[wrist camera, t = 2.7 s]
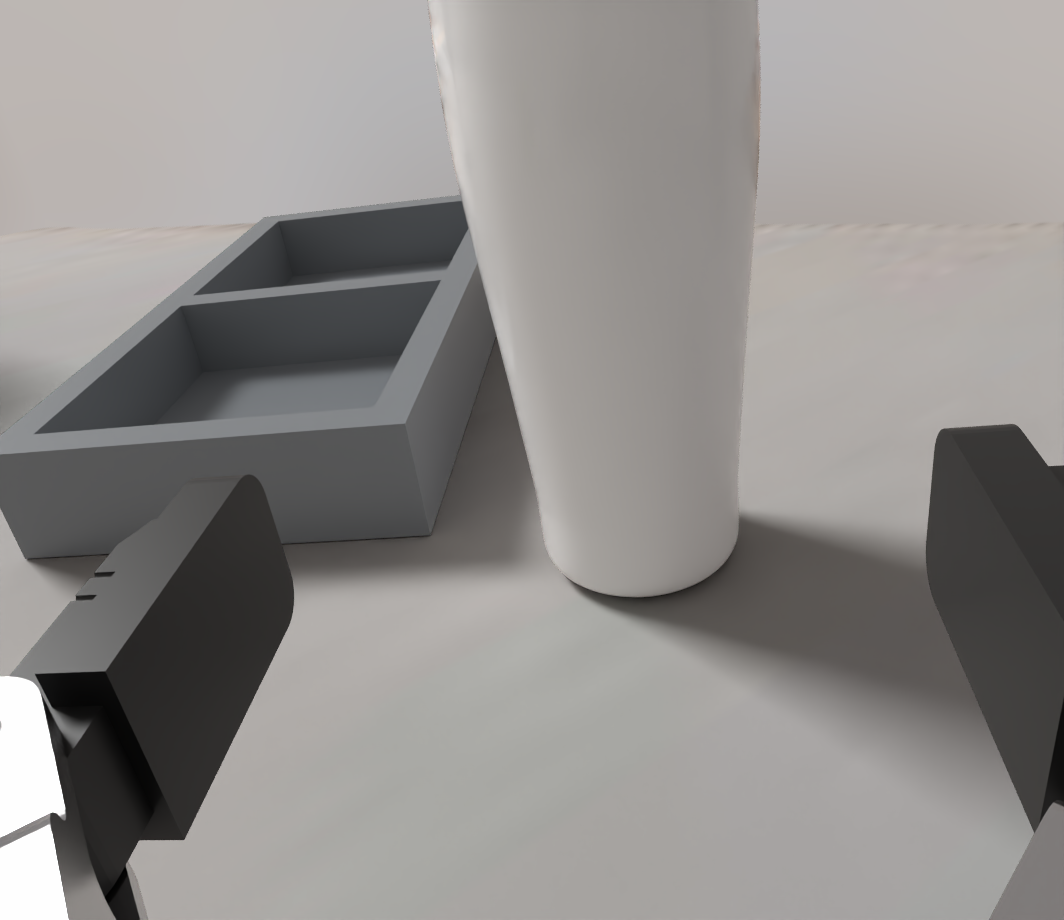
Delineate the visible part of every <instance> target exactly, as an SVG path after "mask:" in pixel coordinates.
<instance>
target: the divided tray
mask: <svg viewBox="0 0 1064 920" xmlns="http://www.w3.org/2000/svg"><path fill="white" fill-rule="evenodd" d="M495 338H496V332H495V328H494V325H493V321H492V317H491V313H490V309H489V305H488V301H487V298H486V294H485V290H484V286H483V282H482V278H481V275H480V271H479V267H478V263H477V259H476V255H475V252H474V248H473V244H472V240H471V236H470V232H469V228H468V224H467V220H466V216H465V212H464V208H463V204H462V200H461V196H460V195H457V196H449V197H440V198H430V199H422V200H413V201H404V202H396V203H386V204H377V205H369V206H360V207H351V208H342V209H333V210H324V211H316V212H308V213H298V214H289V215H280V216H271V217H264V218H263V219H262V220H261V221H259V222H258V223H257V224H256V225H254V226H253V227H252V228H251V229H250V230H248V231H247V232H246V233H245V234H244V235H242V236H241V237H240V238H239V239H237V240H236V241H235V242H234V243H233V244H231V245H230V246H229V247H228V248H227V249H225V250H224V251H223V252H222V253H221V254H219V255H218V256H217V257H216V258H214V259H213V260H212V261H211V262H210V263H208V264H207V265H206V266H205V267H204V268H202V269H201V270H200V271H199V272H198V273H196V274H195V275H194V276H193V277H191V278H190V279H189V280H188V281H187V282H185V283H184V284H183V285H182V286H181V287H179V288H178V289H177V290H176V291H175V292H173V293H172V294H171V295H170V296H168V297H167V298H166V299H165V300H164V301H162V302H161V303H160V304H159V305H158V306H156V307H155V308H154V309H153V310H152V311H150V312H149V313H148V314H147V315H145V316H144V317H143V318H142V319H141V320H139V321H138V322H137V323H136V324H135V325H133V326H132V327H131V328H130V329H129V330H127V331H126V332H125V333H124V334H122V335H121V336H120V337H119V338H118V339H116V340H115V341H114V342H113V343H112V344H110V345H109V346H108V347H107V348H106V349H104V350H103V351H102V352H101V353H99V354H98V355H97V356H96V357H95V358H93V359H92V360H91V361H90V362H89V363H87V364H86V365H85V366H84V367H83V368H81V369H80V370H79V371H78V372H76V373H75V374H74V375H73V376H72V377H70V378H69V379H68V380H67V381H66V382H64V383H63V384H62V385H61V386H60V387H58V388H57V389H56V390H55V391H54V392H52V393H51V394H50V395H49V396H47V397H46V398H45V399H44V400H43V401H41V402H40V403H39V404H38V405H37V406H35V407H34V408H33V409H32V410H31V411H29V412H28V413H27V414H26V415H24V416H23V417H22V418H21V419H20V420H18V421H17V422H16V423H15V424H14V425H12V426H11V427H10V428H9V429H8V430H6V431H5V432H4V433H3V434H1V435H0V508H1V510H2V512H3V515H4V517H5V519H6V521H7V523H8V525H9V527H10V529H11V531H12V533H13V535H14V537H15V539H16V541H17V543H18V545H19V547H20V549H21V551H22V553H23V555H24V557H25V559H28V558H46V557H63V556H80V555H97V554H110V553H111V552H112V551H113V549H114V548H115V547H116V546H117V545H118V544H119V543H121V542H122V541H123V540H125V539H126V538H128V537H129V536H130V535H132V534H133V533H135V532H136V531H137V530H139V529H140V528H142V527H143V526H145V525H146V524H147V523H149V522H150V521H152V520H155V519H158V517H159V516H160V515H161V514H162V512H163V511H164V510H165V509H166V507H167V506H168V505H169V503H170V502H171V501H172V500H173V498H174V497H175V496H176V495H177V493H178V492H179V491H180V490H181V488H182V487H183V486H184V485H185V483H186V482H187V481H189V480H190V479H193V478H202V477H217V476H232V475H247V474H249V475H253V476H255V477H256V478H257V479H258V480H259V481H260V483H261V485H262V486H263V488H264V491H265V494H266V497H267V500H268V503H269V506H270V509H271V513H272V516H273V519H274V522H275V525H276V528H277V531H278V535H279V538H280V541H281V544H287V543H305V542H322V541H339V540H357V539H374V538H391V537H408V536H426V535H431V532H432V529H433V526H434V523H435V520H436V517H437V514H438V511H439V508H440V505H441V502H442V499H443V496H444V493H445V490H446V486H447V483H448V480H449V477H450V474H451V471H452V468H453V465H454V462H455V459H456V456H457V453H458V450H459V447H460V444H461V441H462V438H463V435H464V432H465V429H466V426H467V423H468V420H469V417H470V414H471V411H472V408H473V405H474V402H475V399H476V396H477V393H478V389H479V386H480V383H481V380H482V377H483V374H484V371H485V368H486V365H487V362H488V359H489V356H490V353H491V350H492V347H493V344H494V341H495Z"/></svg>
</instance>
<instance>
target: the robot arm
mask: <svg viewBox="0 0 1064 920" xmlns="http://www.w3.org/2000/svg"><path fill="white" fill-rule="evenodd" d="M926 564H927V573H928V580H929V585H930V589H931V593H932V596H933V599H934V602H935V604H936V606H937V609H938V611H939V613H940V616H941V618H942V620H943V623H944V625H945V627H946V630H947V632H948V634H949V636H950V639H951V641H952V643H953V646H954V648H955V650H956V653H957V655H958V657H959V660H960V662H961V664H962V667H963V669H964V671H965V673H966V676H967V678H968V680H969V683H970V685H971V687H972V690H973V692H974V694H975V697H976V699H977V701H978V704H979V706H980V708H981V710H982V713H983V715H984V717H985V720H986V722H987V724H988V727H989V729H990V731H991V734H992V736H993V738H994V741H995V743H996V745H997V747H998V750H999V752H1000V754H1001V757H1002V759H1003V761H1004V764H1005V766H1006V768H1007V771H1008V773H1009V775H1010V778H1011V780H1012V782H1013V784H1014V787H1015V789H1016V791H1017V794H1018V796H1019V798H1020V801H1021V803H1022V805H1023V808H1024V810H1025V812H1026V815H1027V817H1028V819H1029V821H1030V824H1031V826H1032V828H1033V831H1034V835H1033V837H1032V839H1031V841H1030V843H1029V845H1028V847H1027V849H1026V850H1025V852H1024V854H1023V856H1022V858H1021V860H1020V862H1019V864H1018V866H1017V868H1016V869H1015V871H1014V873H1013V875H1012V877H1011V879H1010V881H1009V883H1008V885H1007V886H1006V888H1005V890H1004V892H1003V894H1002V896H1001V898H1000V900H999V902H998V904H997V905H996V907H995V909H994V911H993V913H992V915H991V917H990V919H989V920H1064V466H1048V465H1047V464H1046V463H1045V461H1044V460H1043V459H1042V457H1041V456H1040V455H1039V453H1038V452H1037V451H1036V449H1035V448H1034V447H1033V445H1032V444H1031V443H1030V441H1029V440H1028V439H1027V437H1026V436H1025V434H1024V433H1023V432H1022V430H1021V429H1020V428H1019V427H1018V426H1016V425H1015V424H1006V425H991V426H976V427H961V428H947V429H942V430H941V431H940V432H939V434H938V436H937V439H936V444H935V450H934V461H933V472H932V483H931V495H930V506H929V517H928V529H927V540H926ZM293 606H294V588H293V581H292V576H291V572H290V569H289V566H288V563H287V560H286V557H285V553H284V550H283V547H282V544H281V541H280V538H279V535H278V531H277V528H276V525H275V522H274V519H273V516H272V513H271V509H270V506H269V503H268V500H267V497H266V494H265V491H264V488H263V486H262V485H261V483H260V481H259V480H258V479H257V478H256V477H255V476H253V475H249V474H247V475H232V476H217V477H202V478H193V479H190V480H189V481H187V482H186V483H185V485H184V486H183V487H182V488H181V490H180V491H179V492H178V493H177V495H176V496H175V497H174V498H173V500H172V501H171V502H170V503H169V505H168V506H167V507H166V509H165V510H164V511H163V512H162V514H161V515H160V516H159V517H158V519H155V520H152V521H150V522H149V523H147V524H146V525H145V526H143V527H142V528H140V529H139V530H137V531H136V532H135V533H133V534H132V535H130V536H129V537H128V538H126V539H125V540H123V541H122V542H121V543H119V544H118V545H117V546H116V547H115V548H114V549H113V551H112V552H111V553H110V554H109V556H108V557H107V558H106V559H105V560H104V562H103V563H102V564H101V565H100V566H99V568H98V569H97V570H96V571H95V578H90V579H89V580H88V581H87V582H86V583H85V585H84V586H83V587H82V588H81V590H80V591H79V592H78V593H77V594H76V601H72V602H70V603H69V604H68V605H67V607H66V608H65V609H64V610H63V611H62V613H61V614H60V615H59V616H58V617H57V619H56V620H55V621H54V622H53V623H52V625H51V626H50V627H49V628H48V630H47V631H46V632H45V633H44V634H43V636H42V637H41V638H40V639H39V640H38V642H37V643H36V644H35V645H34V647H33V648H32V649H31V650H30V651H29V653H28V654H27V655H26V656H25V657H24V659H23V660H22V661H21V662H20V664H19V665H18V666H17V667H16V668H15V670H14V671H13V672H12V673H11V674H10V676H9V677H0V920H148V917H147V913H146V909H145V906H144V902H143V899H142V895H141V891H140V888H139V884H138V881H137V878H136V876H135V873H134V871H133V869H132V868H131V866H130V864H129V862H128V860H129V858H130V856H131V854H132V852H133V850H134V849H135V847H136V845H137V843H138V841H139V840H184V839H185V837H186V835H187V833H188V831H189V829H190V827H191V825H192V823H193V821H194V819H195V817H196V815H197V813H198V811H199V809H200V807H201V805H202V802H203V800H204V798H205V796H206V794H207V792H208V790H209V788H210V786H211V784H212V782H213V780H214V778H215V776H216V774H217V772H218V770H219V768H220V766H221V764H222V762H223V760H224V758H225V755H226V753H227V751H228V749H229V747H230V745H231V743H232V741H233V739H234V737H235V735H236V733H237V731H238V729H239V727H240V725H241V723H242V721H243V719H244V717H245V715H246V713H247V711H248V708H249V706H250V704H251V702H252V700H253V698H254V696H255V694H256V692H257V690H258V688H259V686H260V684H261V682H262V680H263V678H264V676H265V674H266V672H267V670H268V668H269V666H270V663H271V661H272V659H273V657H274V655H275V653H276V651H277V649H278V647H279V645H280V643H281V641H282V639H283V637H284V635H285V633H286V631H287V629H288V627H289V624H290V621H291V618H292V613H293Z"/></svg>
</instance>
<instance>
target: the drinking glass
mask: <svg viewBox="0 0 1064 920" xmlns="http://www.w3.org/2000/svg"><path fill="white" fill-rule="evenodd" d="M427 1H428V10H429V18H430V26H431V34H432V42H433V49H434V56H435V64H436V71H437V77H438V83H439V90H440V96H441V102H442V108H443V114H444V120H445V125H446V130H447V136H448V141H449V146H450V151H451V156H452V161H453V165H454V170H455V174H456V179H457V183H458V187H459V192H460V196H461V200H462V204H463V208H464V212H465V216H466V220H467V224H468V228H469V232H470V236H471V240H472V244H473V248H474V252H475V255H476V259H477V263H478V267H479V271H480V275H481V278H482V282H483V286H484V290H485V294H486V298H487V301H488V305H489V309H490V313H491V317H492V321H493V325H494V328H495V332H496V336H497V340H498V344H499V348H500V352H501V356H502V359H503V363H504V367H505V371H506V375H507V379H508V383H509V387H510V391H511V395H512V399H513V402H514V406H515V410H516V414H517V418H518V422H519V426H520V430H521V434H522V438H523V442H524V446H525V450H526V454H527V458H528V462H529V466H530V471H531V475H532V479H533V483H534V487H535V491H536V496H537V502H538V508H539V515H540V521H541V528H542V534H543V539H544V543H545V547H546V550H547V553H548V555H549V557H550V559H551V560H552V562H553V563H554V565H555V566H556V567H557V568H558V570H559V571H560V572H561V573H562V574H564V575H565V576H566V577H567V578H568V579H570V580H571V581H573V582H575V583H576V584H578V585H580V586H582V587H584V588H587V589H589V590H592V591H595V592H598V593H602V594H607V595H612V596H620V597H651V596H658V595H664V594H669V593H672V592H676V591H679V590H682V589H685V588H688V587H690V586H693V585H695V584H697V583H699V582H701V581H703V580H704V579H706V578H707V577H709V576H710V575H712V574H713V573H714V572H715V571H717V570H718V569H719V568H720V567H721V566H722V565H723V564H724V563H725V561H726V560H727V559H728V557H729V556H730V554H731V553H732V551H733V549H734V547H735V544H736V541H737V537H738V532H739V493H738V468H739V449H740V432H741V415H742V399H743V383H744V368H745V353H746V338H747V323H748V309H749V295H750V281H751V267H752V253H753V239H754V224H755V210H756V196H757V179H758V163H759V141H760V139H759V138H760V96H761V95H760V94H761V92H760V33H759V9H758V0H427Z"/></svg>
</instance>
